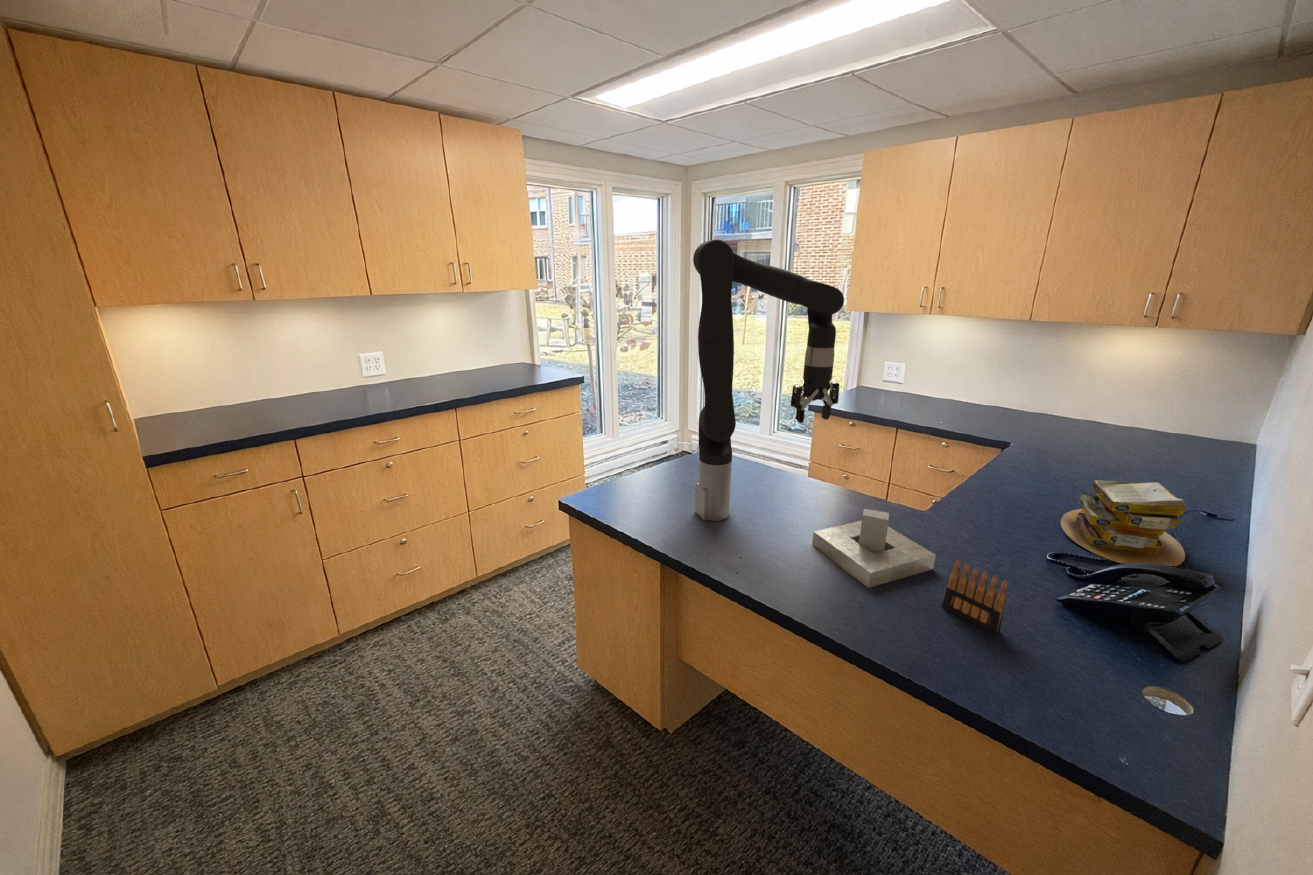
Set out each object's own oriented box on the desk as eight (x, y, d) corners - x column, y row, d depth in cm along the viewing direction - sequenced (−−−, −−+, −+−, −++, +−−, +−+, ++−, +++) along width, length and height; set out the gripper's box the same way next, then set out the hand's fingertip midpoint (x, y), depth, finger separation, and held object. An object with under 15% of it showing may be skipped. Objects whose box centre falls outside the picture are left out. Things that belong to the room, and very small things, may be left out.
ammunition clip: (941, 606, 110) (951, 558, 106) (945, 603, 111) (956, 555, 107) (995, 634, 102) (1009, 583, 98) (999, 630, 103) (1013, 580, 99)
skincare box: (883, 555, 129) (890, 512, 125) (882, 563, 125) (889, 520, 121) (857, 549, 131) (863, 507, 127) (856, 557, 128) (862, 515, 124)
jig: (868, 587, 116) (870, 572, 115) (812, 544, 134) (813, 531, 132) (932, 569, 123) (935, 554, 122) (871, 530, 141) (873, 517, 139)
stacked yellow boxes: (1198, 580, 119) (1225, 516, 113) (1066, 551, 131) (1084, 492, 125) (1164, 533, 139) (1186, 477, 134) (1053, 512, 151) (1068, 460, 145)
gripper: (805, 367, 132) (799, 427, 137) (849, 363, 137) (842, 421, 142) (788, 362, 138) (783, 419, 143) (830, 358, 143) (824, 414, 148)
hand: (812, 420), depth 143 cm, fingers open, 8 cm apart
